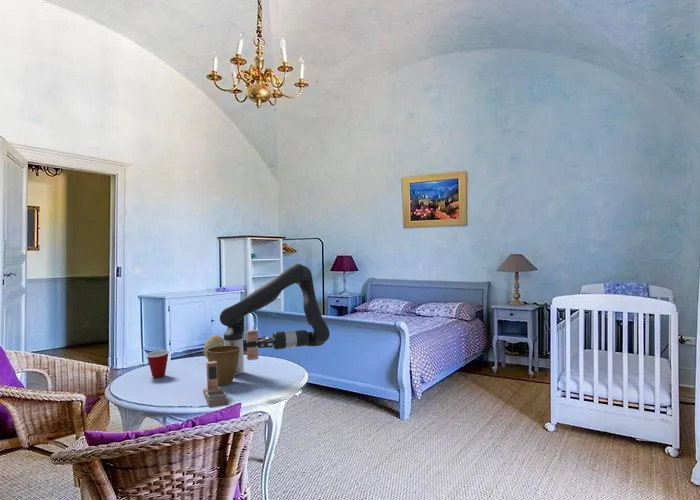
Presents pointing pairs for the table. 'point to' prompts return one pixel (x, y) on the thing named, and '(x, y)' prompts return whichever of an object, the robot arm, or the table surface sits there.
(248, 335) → the tall copper pillar
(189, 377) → the table surface
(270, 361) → the table surface
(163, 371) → the plastic cup
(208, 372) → the gravestone
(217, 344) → the fossilized egg
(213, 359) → the plant pot
